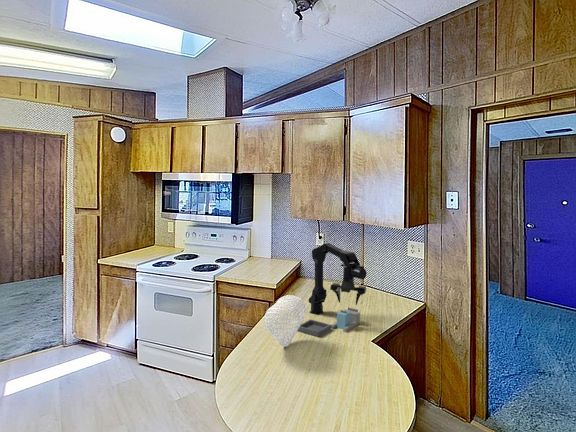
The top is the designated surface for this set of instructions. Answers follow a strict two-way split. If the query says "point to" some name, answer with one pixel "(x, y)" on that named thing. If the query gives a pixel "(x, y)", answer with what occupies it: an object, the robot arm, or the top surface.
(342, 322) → the light blue block
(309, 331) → the tray
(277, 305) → the heart
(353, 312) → the dock
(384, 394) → the top surface
